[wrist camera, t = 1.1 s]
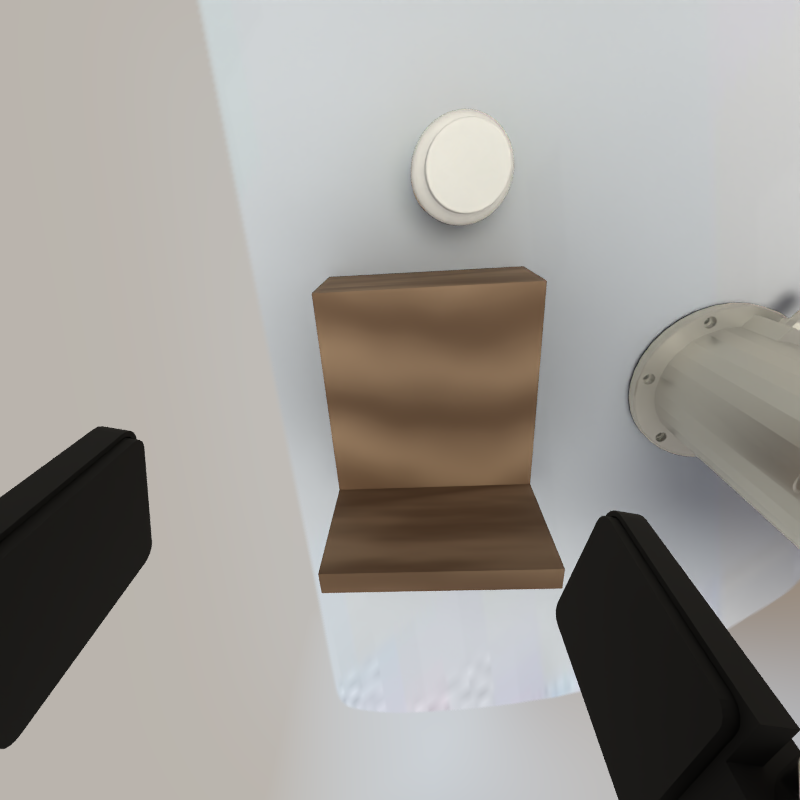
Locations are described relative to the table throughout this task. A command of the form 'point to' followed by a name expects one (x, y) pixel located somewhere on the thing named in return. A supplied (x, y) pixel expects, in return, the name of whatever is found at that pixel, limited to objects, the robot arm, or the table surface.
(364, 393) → the shelf stand
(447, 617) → the table surface
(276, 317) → the table surface
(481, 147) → the supplement bottle
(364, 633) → the table surface
